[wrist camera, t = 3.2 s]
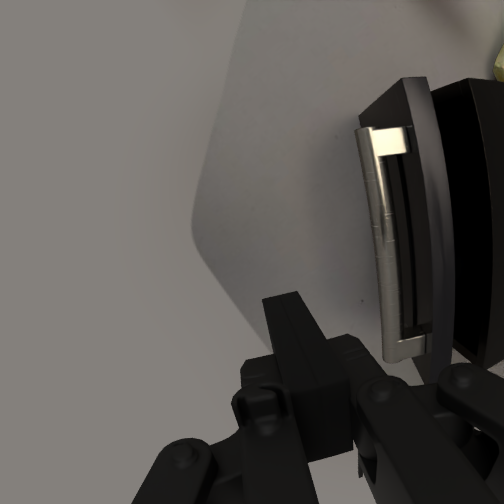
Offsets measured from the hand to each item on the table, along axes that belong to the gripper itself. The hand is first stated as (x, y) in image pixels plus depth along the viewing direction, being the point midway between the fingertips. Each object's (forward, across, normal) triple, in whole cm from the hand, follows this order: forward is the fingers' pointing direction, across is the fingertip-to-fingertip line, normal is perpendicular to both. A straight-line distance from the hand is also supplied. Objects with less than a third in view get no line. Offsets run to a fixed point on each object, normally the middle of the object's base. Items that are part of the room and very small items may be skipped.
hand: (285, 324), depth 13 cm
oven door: (+16, +11, 0) cm, 20 cm away
